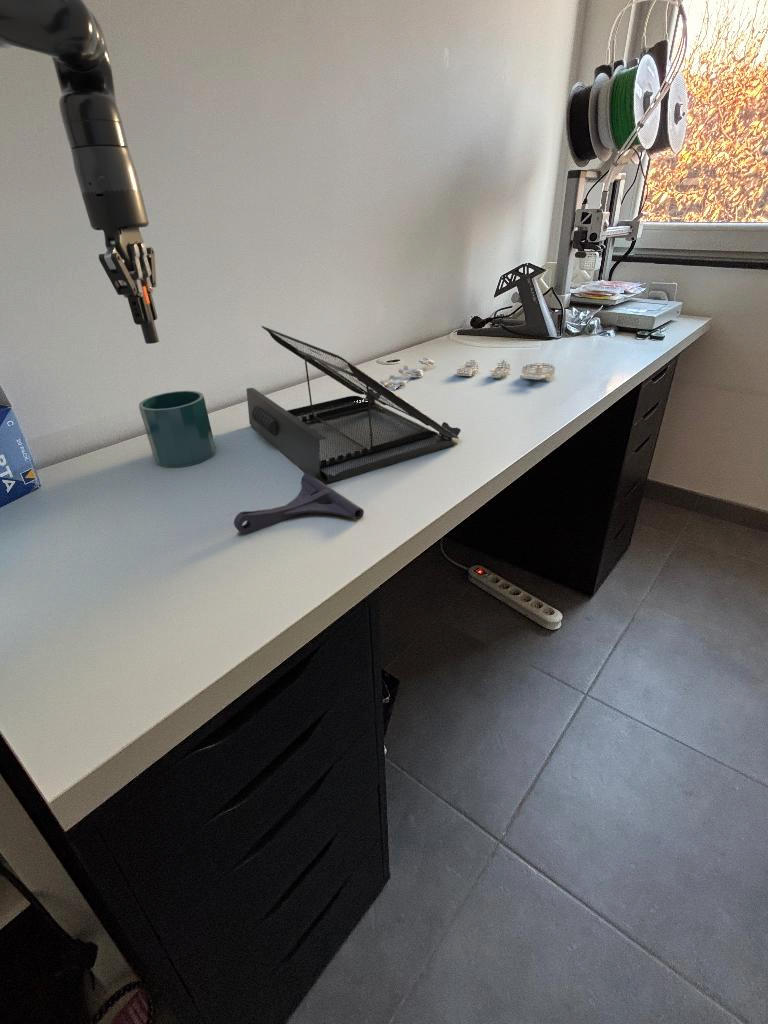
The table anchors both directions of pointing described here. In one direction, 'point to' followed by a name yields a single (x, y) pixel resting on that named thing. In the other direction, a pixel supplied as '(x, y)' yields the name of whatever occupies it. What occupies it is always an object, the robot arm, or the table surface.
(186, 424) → the pen pot
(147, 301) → the marker
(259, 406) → the laptop stand
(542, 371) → the drone parts
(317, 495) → the bracket
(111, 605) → the table surface
